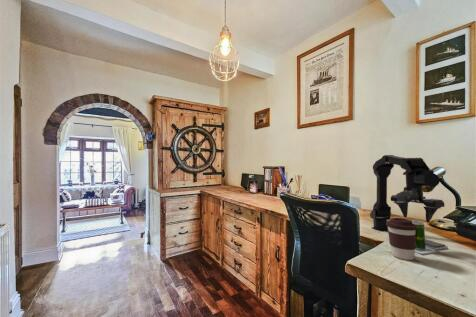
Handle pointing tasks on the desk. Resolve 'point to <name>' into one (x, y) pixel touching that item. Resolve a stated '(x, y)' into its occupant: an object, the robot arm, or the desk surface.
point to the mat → (426, 251)
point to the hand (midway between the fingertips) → (416, 219)
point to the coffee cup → (402, 238)
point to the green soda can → (419, 235)
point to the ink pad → (435, 245)
